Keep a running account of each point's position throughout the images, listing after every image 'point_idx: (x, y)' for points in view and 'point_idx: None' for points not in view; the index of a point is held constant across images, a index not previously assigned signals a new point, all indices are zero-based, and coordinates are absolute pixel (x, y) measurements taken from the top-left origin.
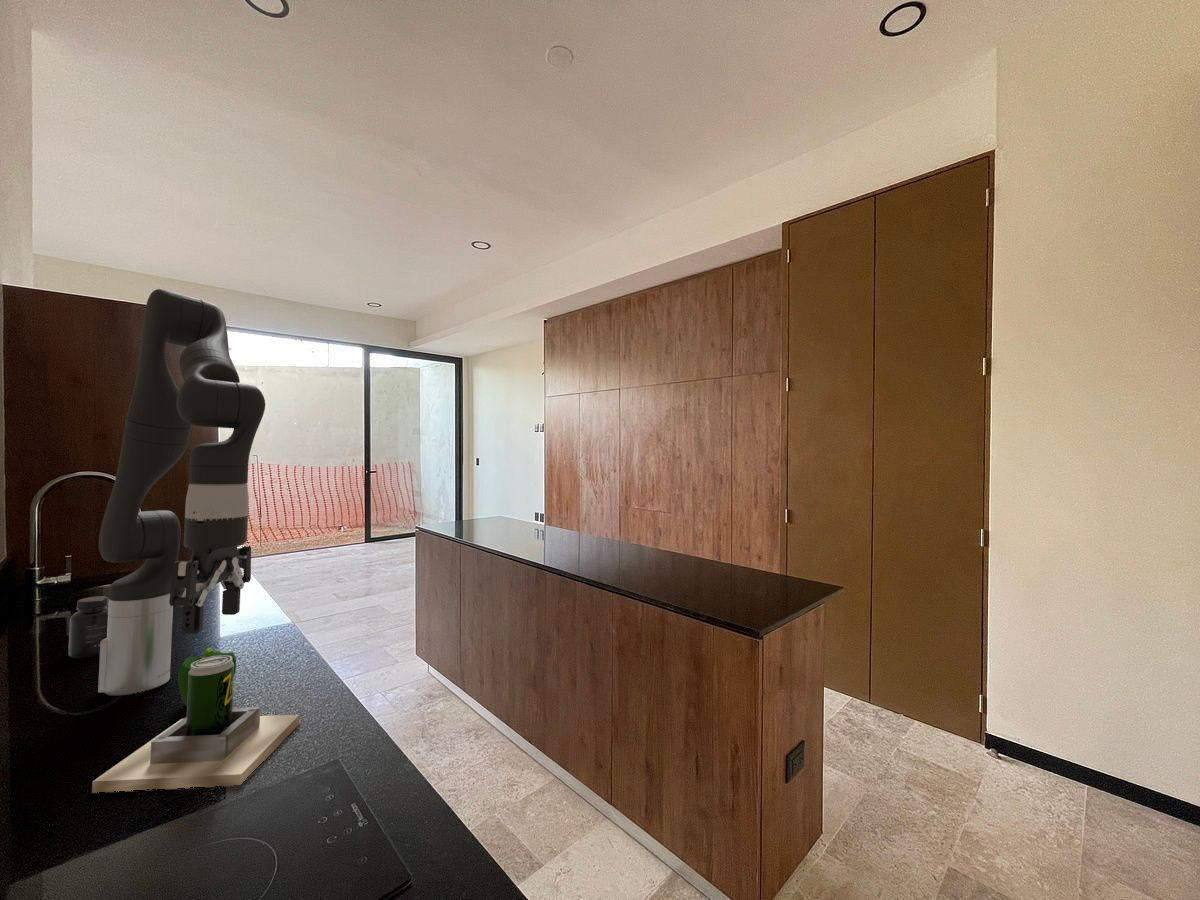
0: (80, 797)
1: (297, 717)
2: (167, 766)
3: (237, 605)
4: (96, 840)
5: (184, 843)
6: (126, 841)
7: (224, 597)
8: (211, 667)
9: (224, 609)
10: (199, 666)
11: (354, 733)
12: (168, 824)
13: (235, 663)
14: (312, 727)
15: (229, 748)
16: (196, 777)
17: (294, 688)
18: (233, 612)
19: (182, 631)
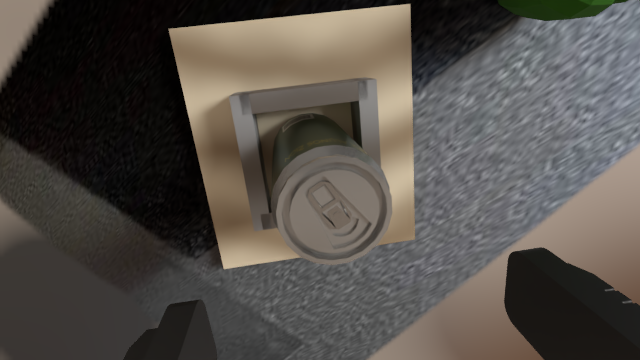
0: (161, 20)
1: (406, 239)
2: (231, 132)
3: (541, 353)
4: (78, 155)
5: (102, 275)
6: (87, 199)
7: (599, 327)
8: (288, 246)
9: (529, 275)
10: (292, 205)
11: (373, 329)
12: (130, 226)
13: (619, 2)
14: (395, 259)
15: None
16: (209, 206)
17: (562, 131)
18: (511, 308)
19: (169, 305)
